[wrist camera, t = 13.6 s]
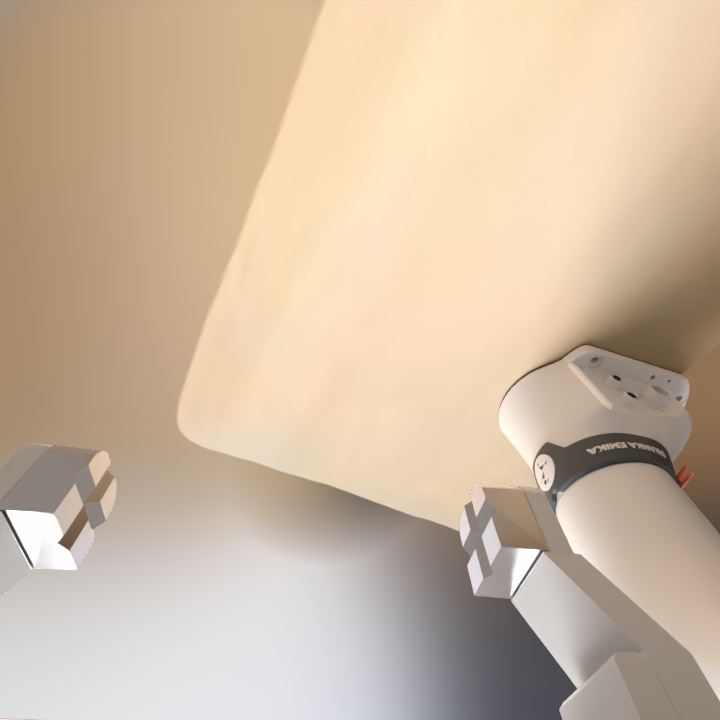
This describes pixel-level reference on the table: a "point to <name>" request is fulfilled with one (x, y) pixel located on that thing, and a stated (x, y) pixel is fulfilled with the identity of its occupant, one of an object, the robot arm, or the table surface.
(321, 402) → the table surface
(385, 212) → the table surface
